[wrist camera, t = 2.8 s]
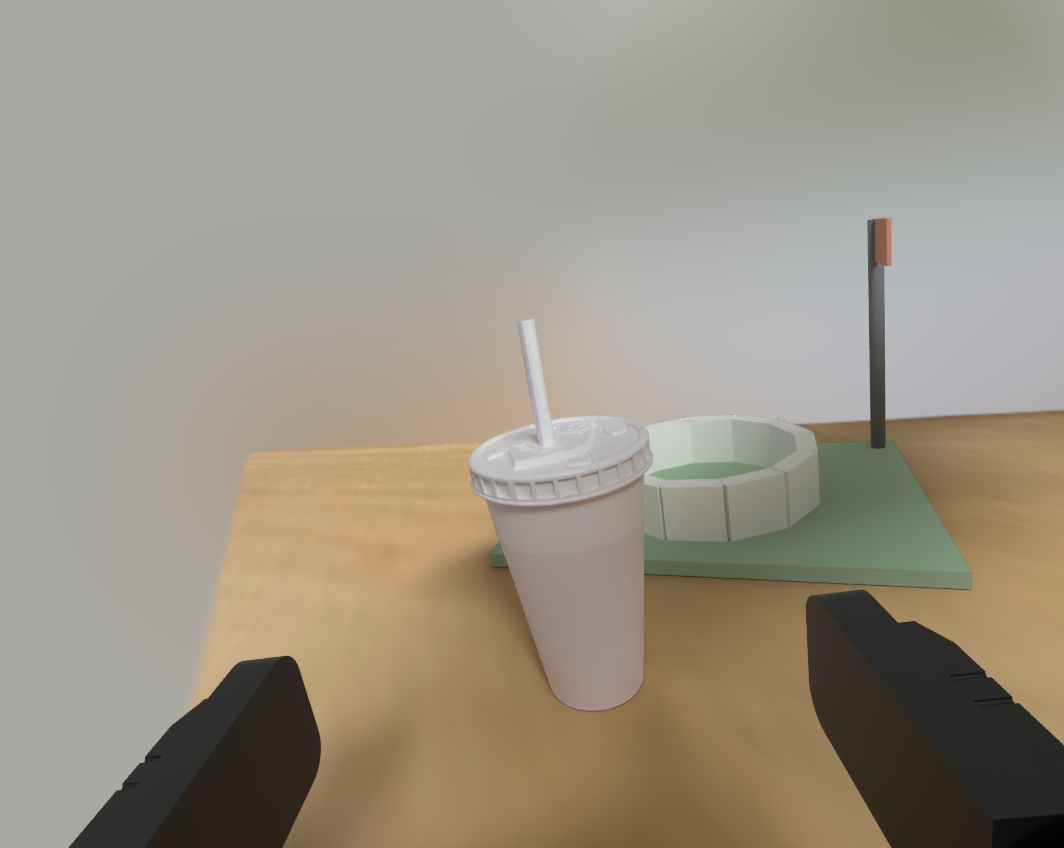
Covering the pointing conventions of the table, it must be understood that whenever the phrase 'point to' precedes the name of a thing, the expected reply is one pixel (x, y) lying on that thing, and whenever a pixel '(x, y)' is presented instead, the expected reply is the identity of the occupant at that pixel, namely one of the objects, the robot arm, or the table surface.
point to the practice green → (794, 494)
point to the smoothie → (573, 539)
